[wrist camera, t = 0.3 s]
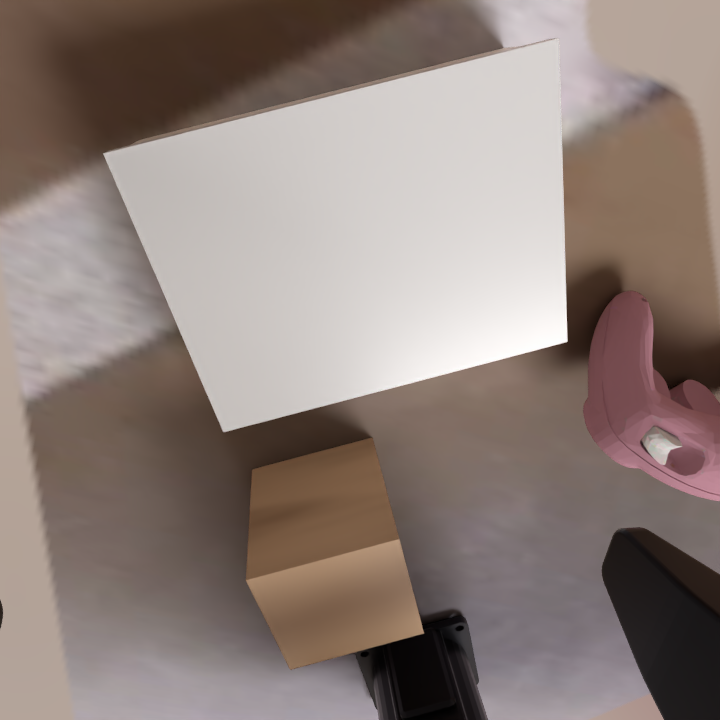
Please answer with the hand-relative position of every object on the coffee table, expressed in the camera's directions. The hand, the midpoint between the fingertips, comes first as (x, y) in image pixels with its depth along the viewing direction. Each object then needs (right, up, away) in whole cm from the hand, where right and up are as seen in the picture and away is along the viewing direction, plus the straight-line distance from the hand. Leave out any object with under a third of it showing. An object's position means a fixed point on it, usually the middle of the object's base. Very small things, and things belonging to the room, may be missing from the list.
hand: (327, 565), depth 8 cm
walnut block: (-1, -3, +17) cm, 18 cm away
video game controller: (+14, +3, +17) cm, 22 cm away
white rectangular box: (0, +8, +12) cm, 14 cm away
